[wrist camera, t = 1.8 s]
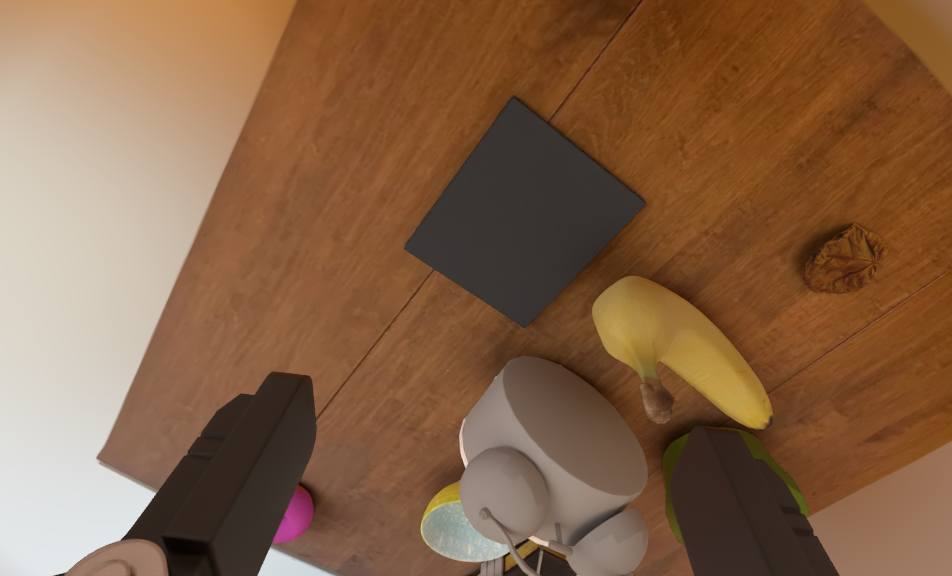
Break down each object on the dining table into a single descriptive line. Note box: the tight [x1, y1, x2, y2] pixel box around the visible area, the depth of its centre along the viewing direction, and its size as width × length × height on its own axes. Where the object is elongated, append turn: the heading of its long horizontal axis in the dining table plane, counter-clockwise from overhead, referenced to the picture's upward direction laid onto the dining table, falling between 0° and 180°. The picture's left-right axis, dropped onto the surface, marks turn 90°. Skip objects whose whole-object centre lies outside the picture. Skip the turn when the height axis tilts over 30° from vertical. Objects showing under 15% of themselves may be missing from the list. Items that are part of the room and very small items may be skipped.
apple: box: [662, 427, 810, 546], centre depth 50 cm, size 12×12×11 cm
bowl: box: [421, 480, 516, 562], centre depth 58 cm, size 11×12×6 cm
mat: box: [404, 96, 646, 328], centre depth 42 cm, size 14×16×1 cm
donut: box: [273, 485, 314, 543], centre depth 62 cm, size 10×10×5 cm
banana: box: [592, 276, 773, 431], centre depth 37 cm, size 23×6×20 cm, turn 49°
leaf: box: [801, 223, 890, 294], centre depth 41 cm, size 6×7×2 cm
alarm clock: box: [459, 356, 649, 576], centre depth 42 cm, size 16×9×22 cm, turn 59°
